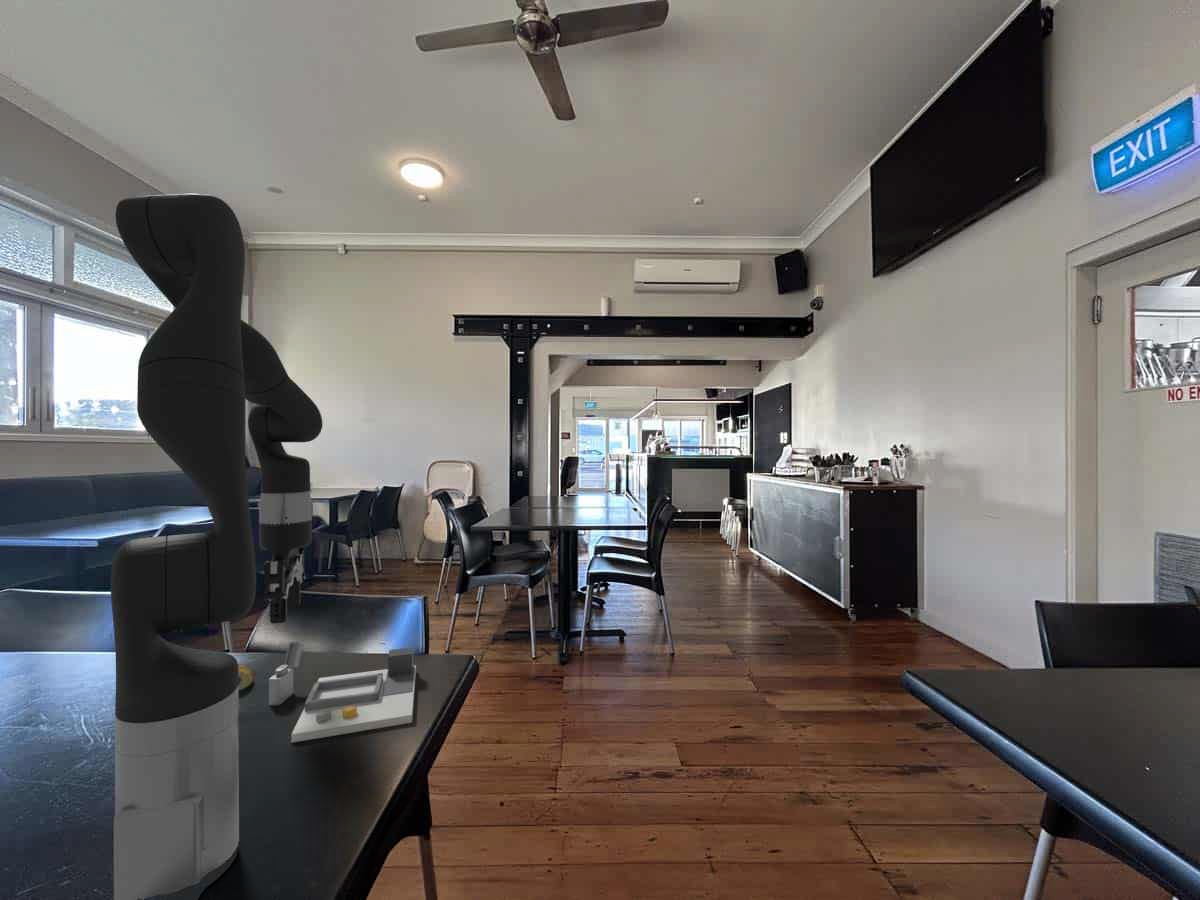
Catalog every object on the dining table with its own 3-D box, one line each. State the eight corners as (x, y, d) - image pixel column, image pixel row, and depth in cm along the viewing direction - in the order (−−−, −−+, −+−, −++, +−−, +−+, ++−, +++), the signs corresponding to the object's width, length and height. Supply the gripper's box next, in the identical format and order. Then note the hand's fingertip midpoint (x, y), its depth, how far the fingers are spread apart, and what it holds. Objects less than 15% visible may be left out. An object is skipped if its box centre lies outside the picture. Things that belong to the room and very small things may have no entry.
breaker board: (411, 722, 75) (411, 706, 75) (291, 742, 70) (291, 725, 70) (415, 671, 92) (415, 658, 92) (319, 684, 87) (319, 671, 87)
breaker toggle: (412, 673, 88) (412, 653, 88) (388, 676, 87) (388, 656, 87) (412, 666, 91) (412, 647, 91) (389, 669, 90) (389, 650, 90)
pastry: (204, 681, 89) (204, 660, 89) (250, 671, 93) (250, 650, 93) (204, 702, 81) (204, 679, 81) (254, 690, 86) (254, 668, 86)
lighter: (279, 705, 80) (279, 656, 80) (268, 705, 80) (268, 656, 80) (303, 684, 87) (303, 639, 87) (293, 684, 87) (293, 639, 87)
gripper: (300, 523, 78) (300, 626, 78) (320, 512, 91) (320, 599, 91) (244, 526, 75) (244, 631, 76) (273, 514, 89) (273, 603, 89)
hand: (286, 613), depth 83 cm, fingers open, 8 cm apart
